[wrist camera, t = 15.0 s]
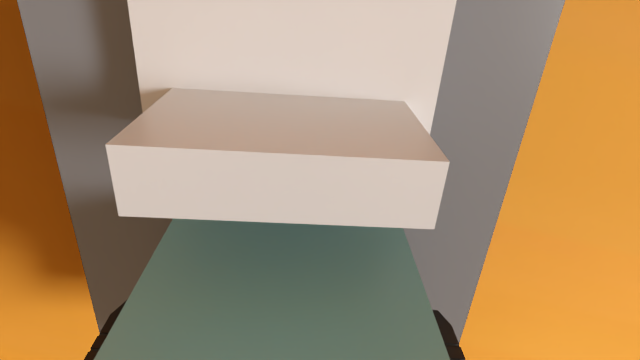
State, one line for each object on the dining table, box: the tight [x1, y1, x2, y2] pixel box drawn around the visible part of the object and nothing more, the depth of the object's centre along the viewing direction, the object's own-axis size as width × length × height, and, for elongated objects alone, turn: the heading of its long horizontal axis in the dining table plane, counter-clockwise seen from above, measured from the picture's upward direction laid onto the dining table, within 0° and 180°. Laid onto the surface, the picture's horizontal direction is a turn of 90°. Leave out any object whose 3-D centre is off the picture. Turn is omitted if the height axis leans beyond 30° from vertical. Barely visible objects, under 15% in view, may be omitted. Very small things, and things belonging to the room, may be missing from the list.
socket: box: [17, 0, 565, 342], centre depth 13 cm, size 16×12×5 cm
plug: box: [94, 218, 450, 360], centre depth 11 cm, size 5×5×8 cm
